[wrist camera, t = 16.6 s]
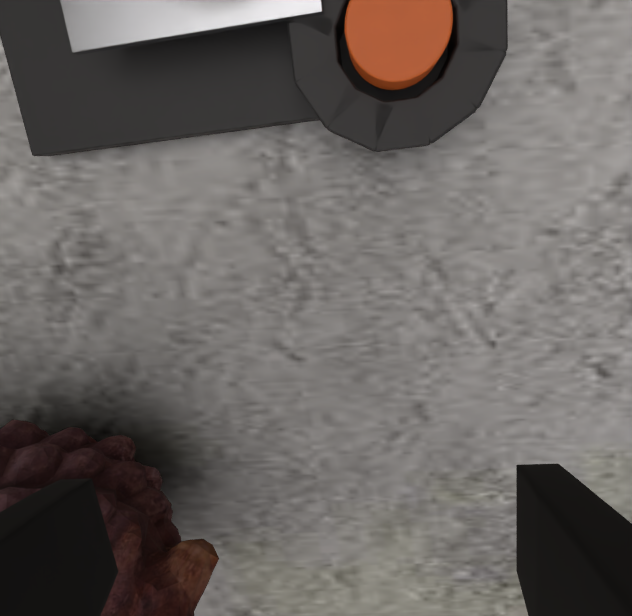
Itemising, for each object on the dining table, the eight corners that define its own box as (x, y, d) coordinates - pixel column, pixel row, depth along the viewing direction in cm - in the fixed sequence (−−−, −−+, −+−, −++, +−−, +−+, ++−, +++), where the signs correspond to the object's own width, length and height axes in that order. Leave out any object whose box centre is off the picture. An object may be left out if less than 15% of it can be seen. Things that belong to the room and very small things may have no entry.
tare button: (441, -24, 12) (451, -49, 10) (445, 83, 13) (455, 74, 11) (343, -7, 12) (338, -29, 11) (352, 96, 13) (349, 89, 11)
